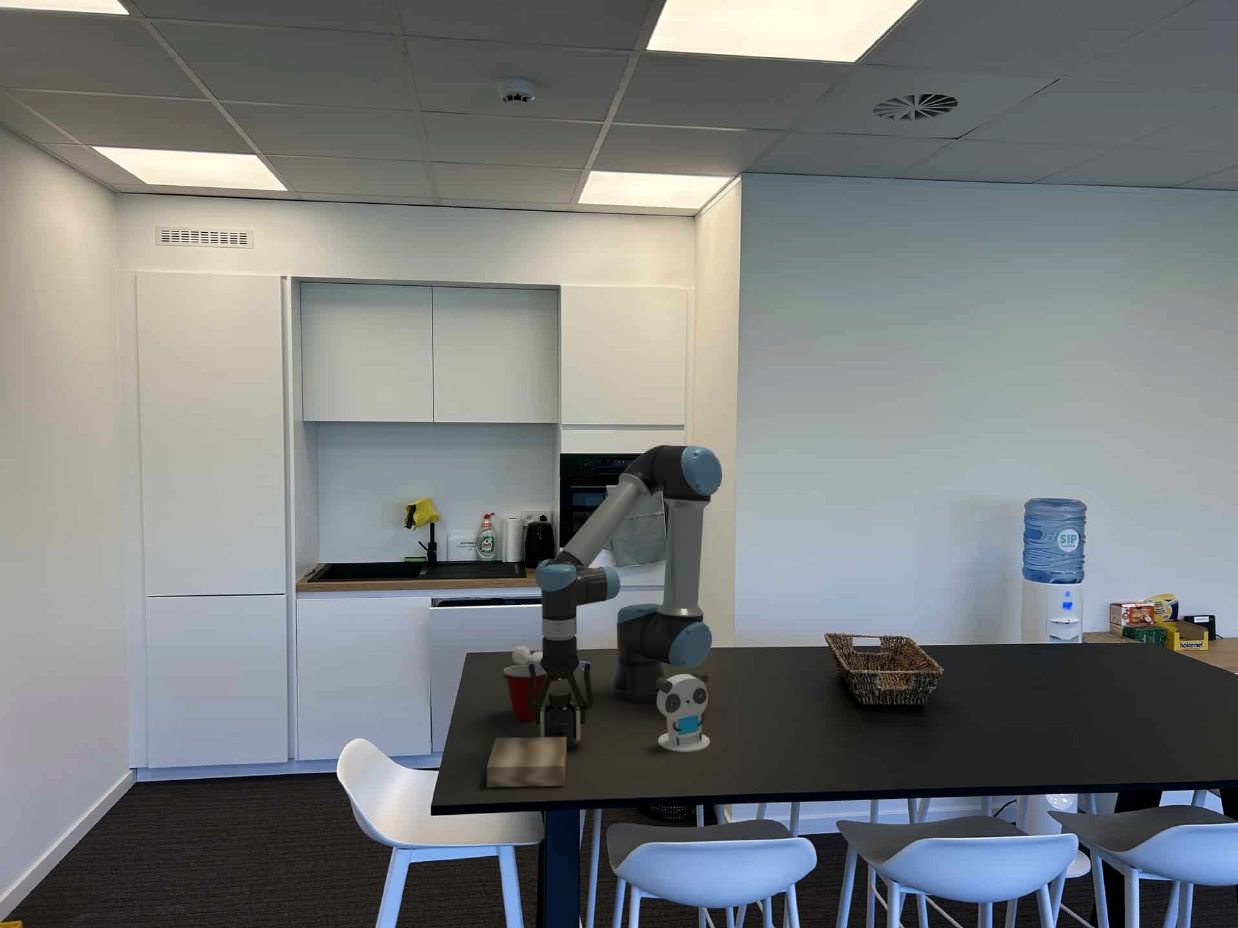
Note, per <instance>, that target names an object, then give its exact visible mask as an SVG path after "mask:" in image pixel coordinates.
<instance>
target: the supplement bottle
mask: <svg viewBox="0 0 1238 928" xmlns="http://www.w3.org/2000/svg"><path fill="white" fill-rule="evenodd" d="M571 693H572V692H571V691H570V690H568V689H566V688H565V689H564V688H557V689H553V690H551V691H549V692H548V702H549V703H547V705H546V706H545V707H544V709H545V737H566V746H567V751H568V750H572V749H573V748H574V747H576V745H577V714H576V711H577V707H576V706H575V704H574V703H573V702H572V695H571Z"/></svg>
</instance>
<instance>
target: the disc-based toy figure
mask: <svg viewBox="0 0 1238 928" xmlns="http://www.w3.org/2000/svg"><path fill="white" fill-rule="evenodd" d="M708 682H709V676H708V675H707V674H706V673H703V672H701V671H699V670H695V671H693V673H692V674H688V673H681V674H676V675H673V676H671V677H668V678H667V680H666V679H664V678H662V677H660V678H658V679H657V681H656V688H657V689H659V693H658V696H657V701H656V707H657V708H658V710H659V712H660V714H662V715H663V716H665V717H666V726H667V733H663V734H661V735H660V736H659V737H658V745H659V746H660V747H662V748H663V749H666V750H668V751H673V752H681V753H691V752H699V751H701V750H703V749H706V748H707V747H709V746H710V744H711V743H710V742H711V741H710V738H709V737H708V736H707V735H705V734H703V733H702V725H703V724H704V722H705V719H706V718H705V714H704V712H705V709H706V708H707V705H708V701H709V694H708V689H707V687H706V683H708Z"/></svg>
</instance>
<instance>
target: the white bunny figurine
mask: <svg viewBox="0 0 1238 928" xmlns="http://www.w3.org/2000/svg"><path fill="white" fill-rule="evenodd" d="M511 657H512V661H513V662H514V663H516V664H518V665H527V663H528V664H529V663H530V662H531V661H533V662H538V661H541V659H542V651H541V650H540V651H534V652H532V654H531V650H530V649H529V648H528V647H526V646H525V645H518V646H516V647H514V649H513V651H512V654H511ZM546 676H547V675H546ZM559 680H560V681H561V680H562V679H561V678H559V679H558V681H559Z"/></svg>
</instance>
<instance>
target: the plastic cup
mask: <svg viewBox="0 0 1238 928" xmlns="http://www.w3.org/2000/svg"><path fill="white" fill-rule="evenodd" d="M503 673H504V674H505V677H506V681H507V686H508V692H509V699H510V705H511V706H512V707H511V708H512V713H513V716H514V719H515V720H516V721H519V722H532V721H535V711H534V710H533V709H528V708H527V699H528V690H529V682H530V672H529V664H525V665H521V664H518V665H517V664H516V665H511V666H508V667H505V668H503ZM546 675H547V673H546V672H545V670H544V669H543V668H542V667H539V671H538V672H536V682H535V690H534V699H533V701H534V702H537V700H538V697H539V695H540V692H541V690H542V687H543V684H544V682H545V679H546Z"/></svg>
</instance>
